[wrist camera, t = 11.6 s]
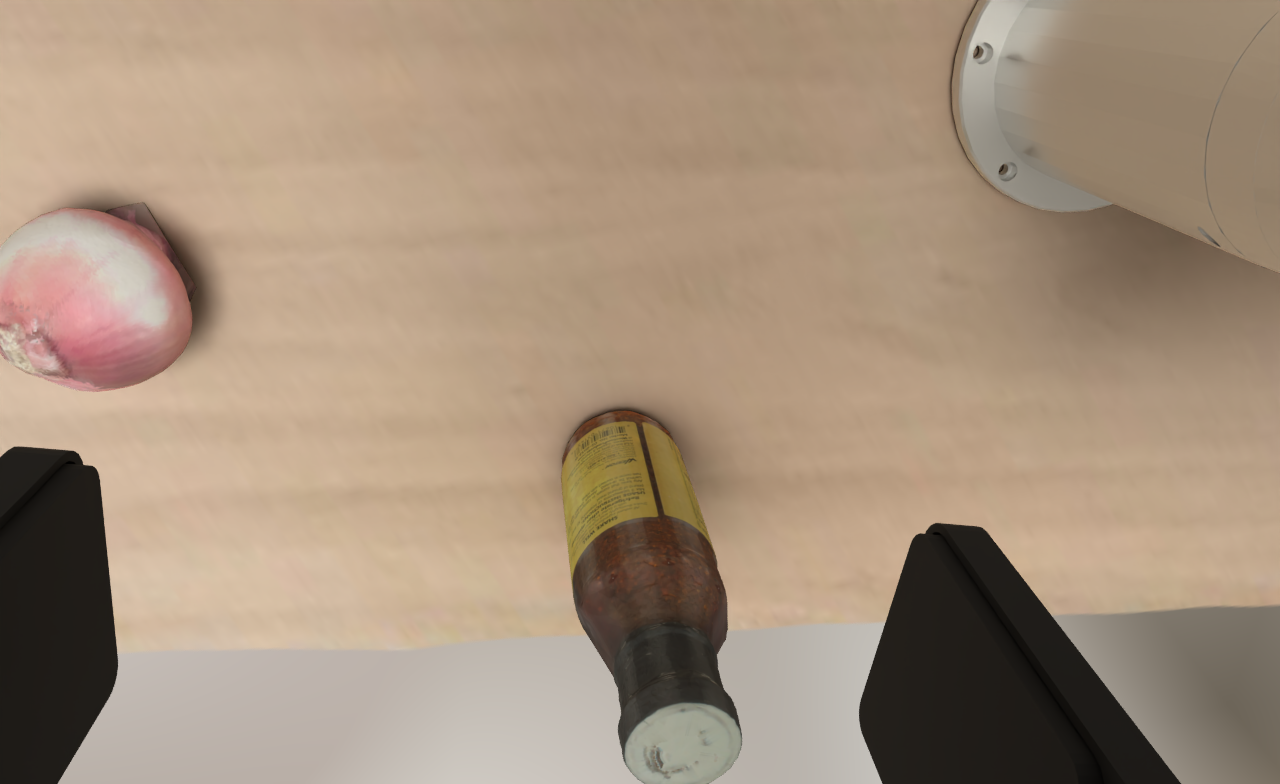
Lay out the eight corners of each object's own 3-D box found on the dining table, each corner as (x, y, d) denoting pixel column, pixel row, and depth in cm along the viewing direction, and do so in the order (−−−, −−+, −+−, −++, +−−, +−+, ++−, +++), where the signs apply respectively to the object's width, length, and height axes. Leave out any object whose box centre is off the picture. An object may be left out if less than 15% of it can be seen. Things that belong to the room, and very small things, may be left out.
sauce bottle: (548, 496, 49) (548, 806, 31) (578, 392, 46) (596, 662, 28) (666, 519, 50) (732, 831, 32) (701, 419, 48) (793, 694, 30)
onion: (53, 327, 44) (-89, 353, 37) (92, 172, 42) (-50, 169, 35) (200, 399, 43) (85, 440, 36) (247, 246, 41) (135, 258, 34)
